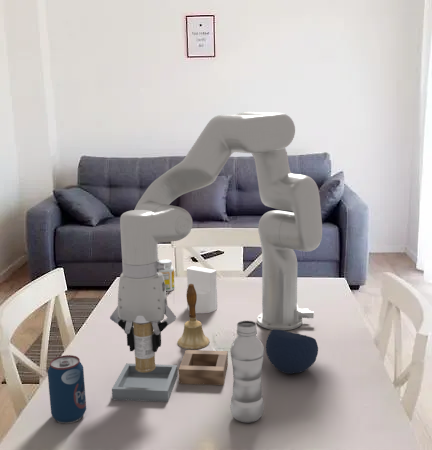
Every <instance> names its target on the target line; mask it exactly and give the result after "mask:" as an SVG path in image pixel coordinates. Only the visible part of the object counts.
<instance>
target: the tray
mask: <svg viewBox="0 0 432 450" xmlns="http://www.w3.org/2000/svg"><path fill="white" fill-rule="evenodd" d="M155 365H156V368H155V369H154V370H153V371H151V372H145V373H143V372H138V371H137V370H136V369H135V366H136V363H129V362H128V363H126V364H124V366H123V368H122V370H121V372H120V373H119V375H118V377H117V378H116V381H115V383H114V384H113V386H112V387H111V397H112V400H113V401H114V400H116V401H135V402H136V401H141V402H161V403H162V402H164V403H165V402H167V403H168V402H169V400H170V398H171V395H172V392H173V389H174V387H175V384H176V380H177V378H178V377H179V368H178V364H159V363H158V364H156V363H155Z"/></svg>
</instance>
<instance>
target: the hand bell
mask: <svg viewBox="0 0 432 450" xmlns="http://www.w3.org/2000/svg"><path fill="white" fill-rule="evenodd" d="M185 295H186V302H187V303H188V305H189V310H188V315H189V317H188V318H189V320H187V321H186V322H184V326H183V332H182V335H181V337H179V338H178V340H177V346H179V348H182V349H184V350H201V349H204V348H206V347H207V346H208V345H210V339H209V337H207V336H206V334H205V333H204V330H203V325H202V322H201V321H199V320H197V316H196V314H197V313H195V305H196V301H197V294H196V290H195V288H194V284H189V285H188V289H187V288H186V294H185Z"/></svg>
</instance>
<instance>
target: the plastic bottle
mask: <svg viewBox="0 0 432 450" xmlns="http://www.w3.org/2000/svg"><path fill="white" fill-rule="evenodd" d="M257 328H258V327H257V322H255V321H253V320H241V321H239V322H237V323H236V334H237V336H236V337H235V339H234V340H233V342H232V344H231V346H230V348H229V349H230V351H229V352H230V359H231V366H232V375H233V377H232V378H233V379H232V380H233V381H232V382H233V384H232V385H233V386H232V393H231V397H230V403H229V404H230V405H229V407H230V412H231V413H230V414H231V415H232V417H233V418H234V419H235V420H236V421H237V422H241V423H249V424H250V423H253V422H256V421H258V420H259V419H261V417H262V416H263V414H264V409H265V403H264V397H263V392H262V390H263V389H262V369H263V368H262V367H263V362H264V355H265V348H264V344H263V343H262V341H261V340H260V338H259V337H258V336H257V334H258V330H257Z"/></svg>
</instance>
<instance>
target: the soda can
mask: <svg viewBox="0 0 432 450" xmlns="http://www.w3.org/2000/svg"><path fill="white" fill-rule="evenodd" d="M47 378H48V379H47V381H48V383H47V384H48V392H49V393H48V395H49V405H50V413H51V416H52V418H53V419H55V421H56V422H58V423H59V424H72V423H76V422H77V421H80V420H81V419H82V418H83V417H84V414H85V413H86V411H87V398H86V387H85V386H86V385H85V373H84V366H83V364H82V363H81V360H80V358H79V357H78V356H76V355H72V354H70V355H69V354H66V355H60V356H57V357H55V358H53V359H52V360H50V361H49V367H48V369H47Z"/></svg>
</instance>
